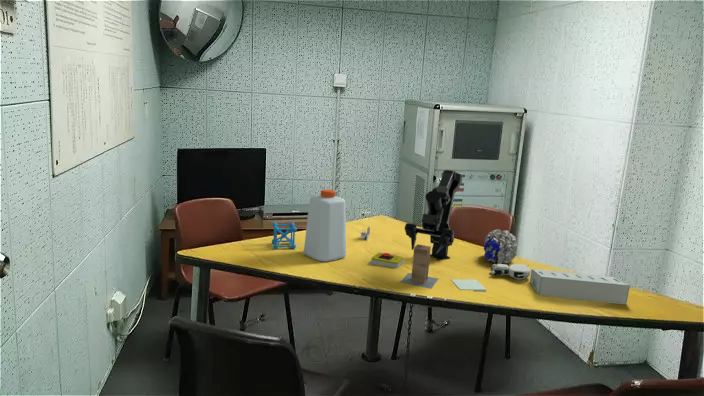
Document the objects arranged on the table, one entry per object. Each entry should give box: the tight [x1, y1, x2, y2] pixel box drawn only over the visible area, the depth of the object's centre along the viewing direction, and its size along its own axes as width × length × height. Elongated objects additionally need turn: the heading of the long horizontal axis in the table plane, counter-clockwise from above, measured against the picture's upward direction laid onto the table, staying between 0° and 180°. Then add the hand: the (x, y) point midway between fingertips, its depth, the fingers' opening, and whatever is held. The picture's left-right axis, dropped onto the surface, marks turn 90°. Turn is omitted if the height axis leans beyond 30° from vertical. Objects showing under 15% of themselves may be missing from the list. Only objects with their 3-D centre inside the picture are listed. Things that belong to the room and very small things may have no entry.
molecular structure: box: [271, 221, 298, 250], centre depth 217 cm, size 10×10×10 cm
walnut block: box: [411, 243, 432, 284], centre depth 183 cm, size 5×5×13 cm
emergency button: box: [367, 252, 404, 269], centre depth 203 cm, size 9×4×15 cm
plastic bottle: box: [303, 189, 347, 263], centre depth 205 cm, size 15×15×28 cm
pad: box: [450, 278, 487, 292], centre depth 183 cm, size 10×10×1 cm
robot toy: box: [490, 263, 531, 281], centre depth 197 cm, size 12×4×15 cm
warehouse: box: [529, 268, 630, 305], centre depth 183 cm, size 30×14×8 cm, turn 83°
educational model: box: [483, 228, 518, 264], centre depth 216 cm, size 14×20×15 cm
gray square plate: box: [399, 272, 439, 289], centre depth 185 cm, size 12×12×1 cm
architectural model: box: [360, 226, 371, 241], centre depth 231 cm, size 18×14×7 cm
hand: (424, 251), depth 186 cm, fingers open, 9 cm apart
